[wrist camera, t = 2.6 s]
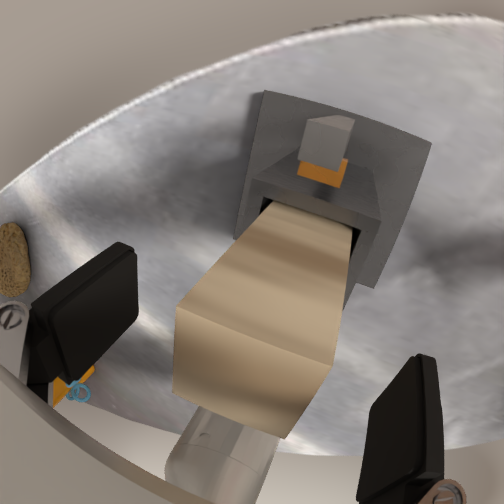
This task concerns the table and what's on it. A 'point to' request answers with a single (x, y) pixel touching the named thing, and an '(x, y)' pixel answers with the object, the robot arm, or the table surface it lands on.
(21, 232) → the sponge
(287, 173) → the grey socket stand
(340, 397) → the table surface
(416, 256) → the table surface
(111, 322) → the robot arm
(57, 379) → the orange tube with rings
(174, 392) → the post
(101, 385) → the table surface
